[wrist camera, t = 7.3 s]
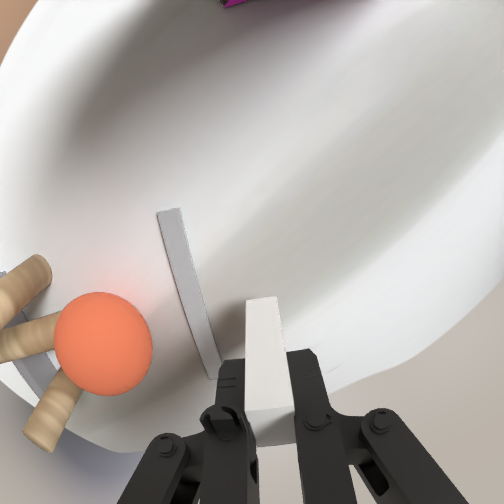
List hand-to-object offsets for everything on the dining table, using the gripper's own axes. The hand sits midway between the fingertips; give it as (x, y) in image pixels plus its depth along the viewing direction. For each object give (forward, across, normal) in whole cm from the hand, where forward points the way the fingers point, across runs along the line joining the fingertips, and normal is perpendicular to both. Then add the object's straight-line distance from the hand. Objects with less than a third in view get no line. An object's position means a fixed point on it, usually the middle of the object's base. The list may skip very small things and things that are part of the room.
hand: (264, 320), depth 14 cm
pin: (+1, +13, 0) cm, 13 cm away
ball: (-1, +9, 0) cm, 9 cm away
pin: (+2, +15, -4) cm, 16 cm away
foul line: (+2, +4, 0) cm, 4 cm away
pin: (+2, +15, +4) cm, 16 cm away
